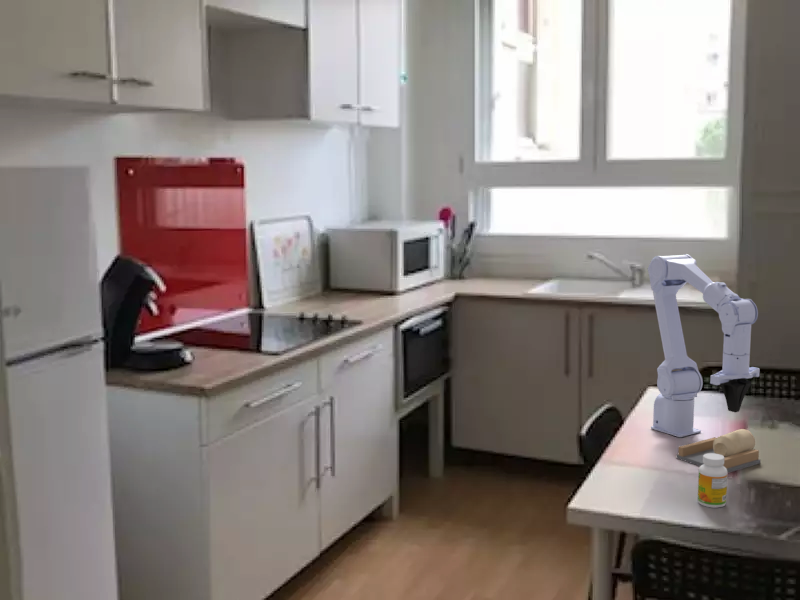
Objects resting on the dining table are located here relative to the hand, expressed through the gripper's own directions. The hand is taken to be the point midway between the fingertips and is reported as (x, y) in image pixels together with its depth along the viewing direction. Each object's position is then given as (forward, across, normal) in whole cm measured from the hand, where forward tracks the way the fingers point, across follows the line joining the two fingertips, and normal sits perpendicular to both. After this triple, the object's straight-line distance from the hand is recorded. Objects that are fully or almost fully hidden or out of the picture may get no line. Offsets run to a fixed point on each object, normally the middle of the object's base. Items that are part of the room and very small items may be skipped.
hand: (733, 411), depth 211 cm
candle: (+7, +2, -2) cm, 7 cm away
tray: (+10, -6, -1) cm, 12 cm away
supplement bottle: (+10, -28, -17) cm, 34 cm away
